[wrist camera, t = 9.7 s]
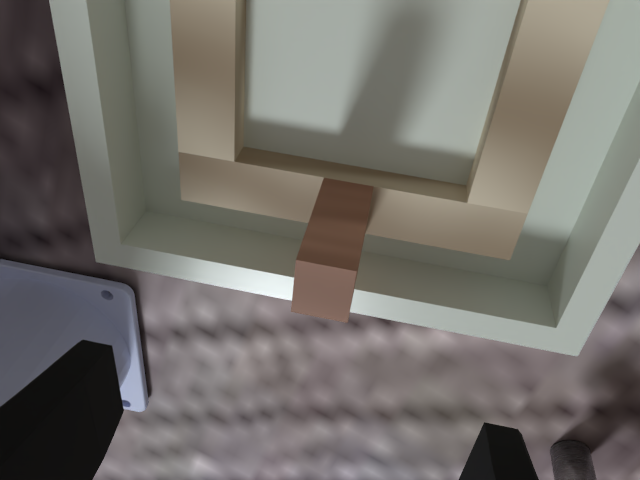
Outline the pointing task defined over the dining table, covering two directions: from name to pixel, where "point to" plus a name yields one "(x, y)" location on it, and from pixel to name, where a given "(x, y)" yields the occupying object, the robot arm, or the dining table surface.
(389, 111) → the sage tray
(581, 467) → the T-head stake
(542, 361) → the dining table surface
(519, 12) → the birch frame
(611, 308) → the dining table surface
